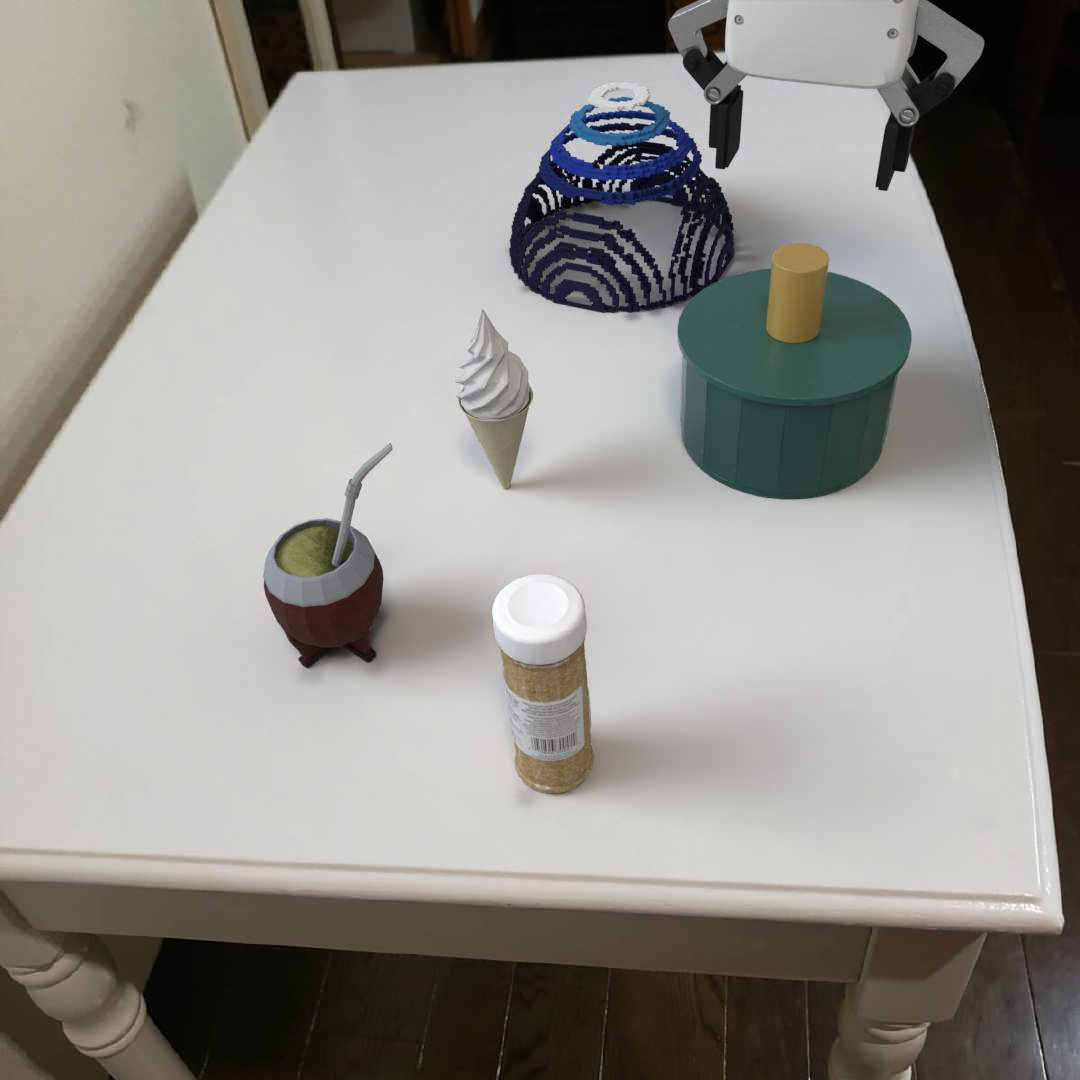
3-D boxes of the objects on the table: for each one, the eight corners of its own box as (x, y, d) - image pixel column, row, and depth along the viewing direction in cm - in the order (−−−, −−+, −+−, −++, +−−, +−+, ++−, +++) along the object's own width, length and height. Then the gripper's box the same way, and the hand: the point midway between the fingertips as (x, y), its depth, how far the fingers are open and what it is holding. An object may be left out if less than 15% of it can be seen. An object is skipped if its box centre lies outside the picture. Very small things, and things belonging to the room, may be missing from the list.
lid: (926, 300, 79) (943, 215, 75) (885, 434, 69) (903, 344, 65) (713, 267, 84) (717, 185, 80) (646, 388, 74) (647, 301, 70)
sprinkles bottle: (599, 734, 64) (592, 574, 55) (587, 802, 61) (577, 645, 52) (522, 725, 65) (501, 565, 56) (506, 792, 62) (481, 635, 53)
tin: (899, 392, 85) (919, 296, 79) (861, 518, 76) (880, 420, 70) (713, 358, 89) (718, 265, 83) (655, 473, 80) (656, 377, 74)
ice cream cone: (461, 476, 81) (433, 299, 71) (526, 456, 82) (508, 278, 72) (484, 519, 78) (459, 340, 67) (552, 497, 79) (537, 318, 68)
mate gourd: (263, 642, 71) (196, 465, 61) (355, 572, 75) (308, 393, 65) (339, 702, 67) (282, 523, 57) (432, 624, 71) (395, 444, 61)
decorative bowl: (566, 183, 112) (558, 35, 102) (760, 214, 105) (772, 60, 95) (474, 286, 99) (455, 129, 89) (687, 329, 92) (692, 165, 82)
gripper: (1033, -167, 55) (961, 159, 68) (695, -179, 61) (685, 125, 73) (1016, -122, 51) (942, 220, 63) (652, -139, 56) (649, 179, 68)
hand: (804, 169), depth 68 cm, fingers open, 9 cm apart
